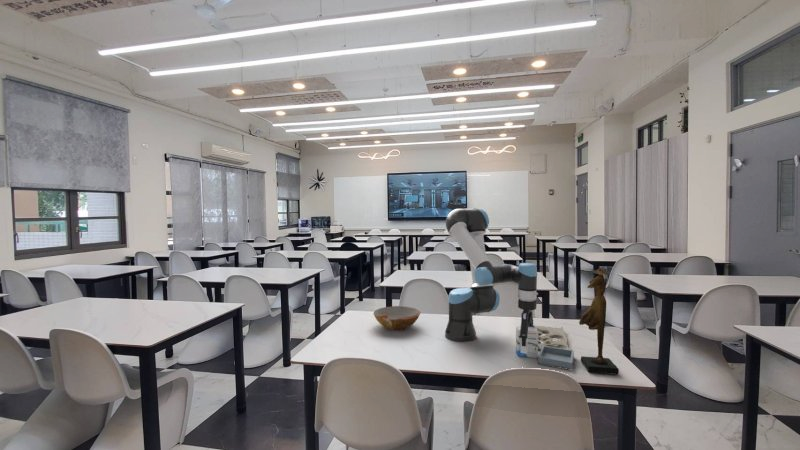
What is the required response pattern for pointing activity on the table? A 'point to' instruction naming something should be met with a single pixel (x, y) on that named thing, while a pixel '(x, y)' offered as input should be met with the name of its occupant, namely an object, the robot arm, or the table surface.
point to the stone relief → (551, 333)
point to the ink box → (532, 342)
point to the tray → (556, 357)
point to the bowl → (396, 317)
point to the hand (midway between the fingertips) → (526, 347)
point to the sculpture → (598, 326)
